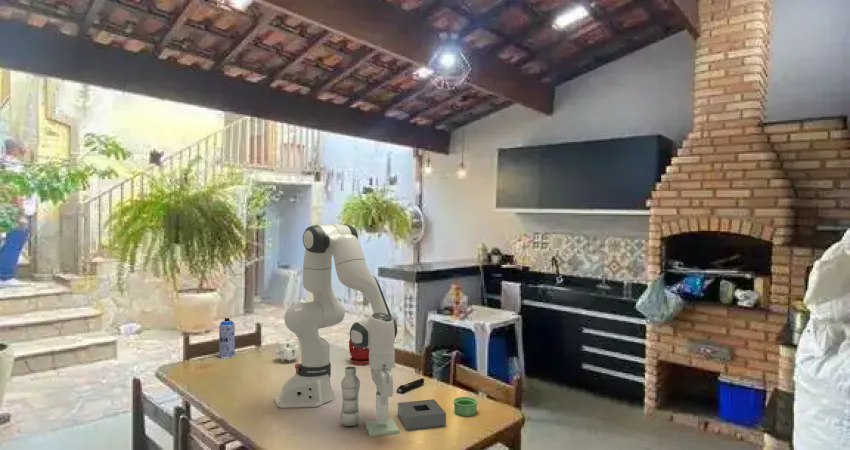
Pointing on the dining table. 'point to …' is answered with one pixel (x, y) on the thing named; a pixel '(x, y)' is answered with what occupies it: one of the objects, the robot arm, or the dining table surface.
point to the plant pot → (358, 354)
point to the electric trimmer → (410, 386)
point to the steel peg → (381, 409)
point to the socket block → (421, 414)
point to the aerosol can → (227, 338)
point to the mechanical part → (288, 349)
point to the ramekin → (465, 406)
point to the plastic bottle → (350, 397)
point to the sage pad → (381, 427)
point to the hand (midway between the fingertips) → (381, 401)
